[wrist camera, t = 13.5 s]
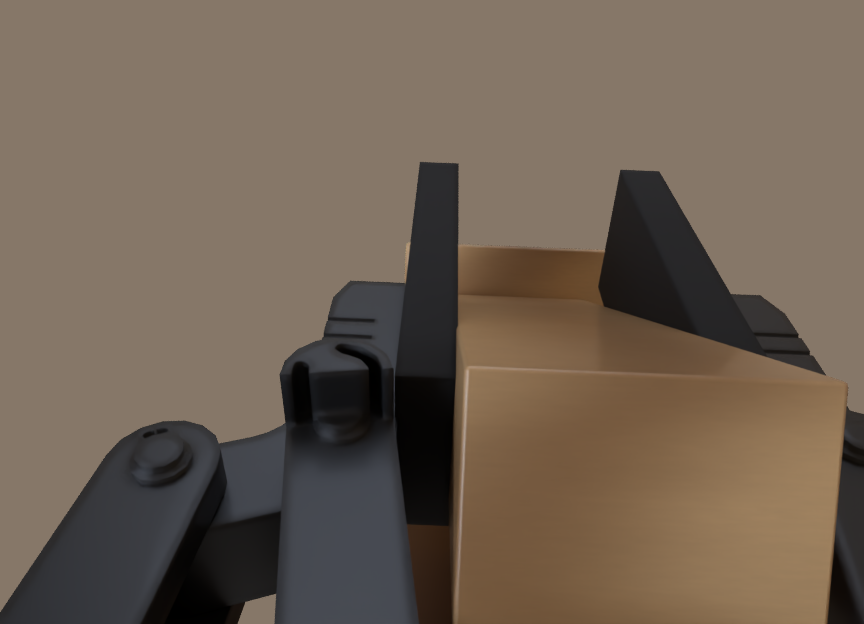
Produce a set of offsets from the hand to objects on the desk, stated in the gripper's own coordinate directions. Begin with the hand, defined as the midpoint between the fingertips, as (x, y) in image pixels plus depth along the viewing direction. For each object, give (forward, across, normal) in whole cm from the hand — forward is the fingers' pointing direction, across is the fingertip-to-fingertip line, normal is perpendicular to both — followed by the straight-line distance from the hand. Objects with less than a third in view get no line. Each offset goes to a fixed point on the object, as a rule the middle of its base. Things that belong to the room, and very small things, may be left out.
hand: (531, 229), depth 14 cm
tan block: (-1, 0, -4) cm, 4 cm away
